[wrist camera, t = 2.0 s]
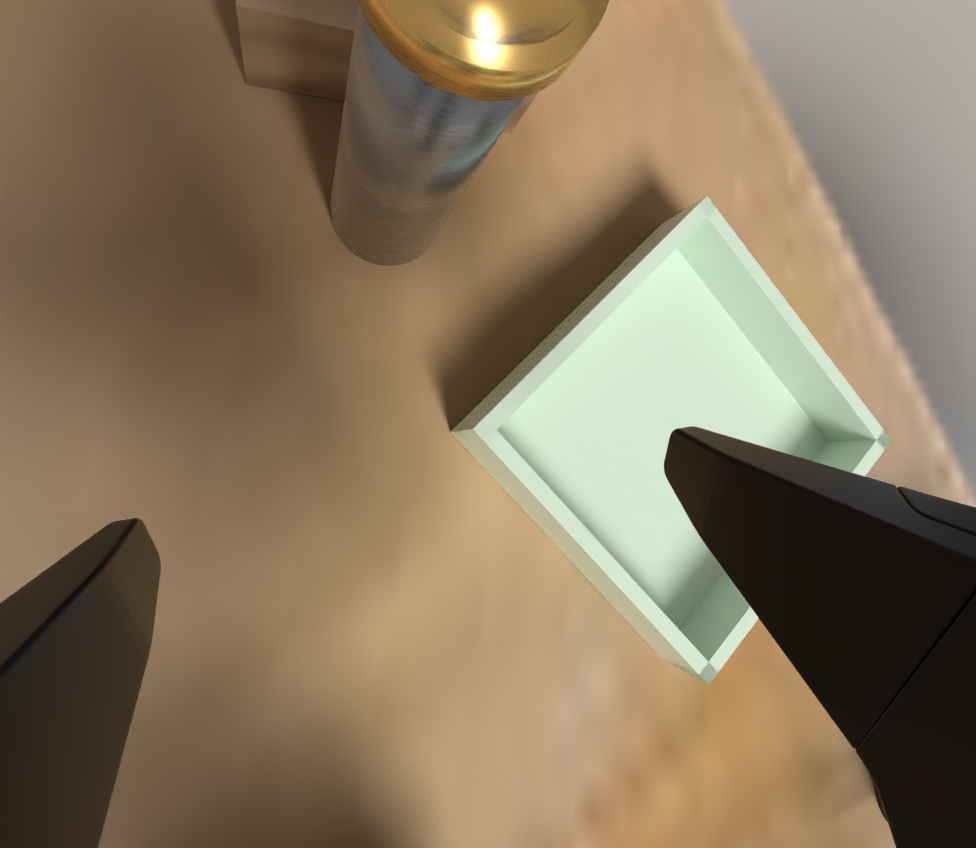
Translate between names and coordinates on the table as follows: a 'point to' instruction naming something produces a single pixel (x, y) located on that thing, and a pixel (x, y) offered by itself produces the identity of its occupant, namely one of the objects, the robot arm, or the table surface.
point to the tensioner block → (305, 47)
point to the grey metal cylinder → (437, 107)
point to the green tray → (664, 425)
